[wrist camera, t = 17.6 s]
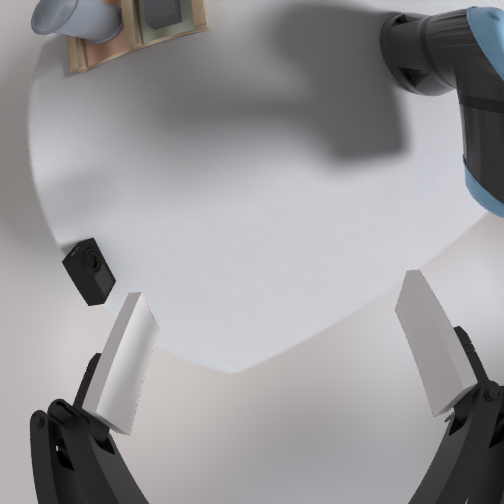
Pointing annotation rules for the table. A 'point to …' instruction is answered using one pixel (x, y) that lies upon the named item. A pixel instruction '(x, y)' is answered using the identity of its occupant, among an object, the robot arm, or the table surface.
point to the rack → (135, 33)
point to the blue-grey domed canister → (78, 19)
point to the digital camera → (89, 272)
